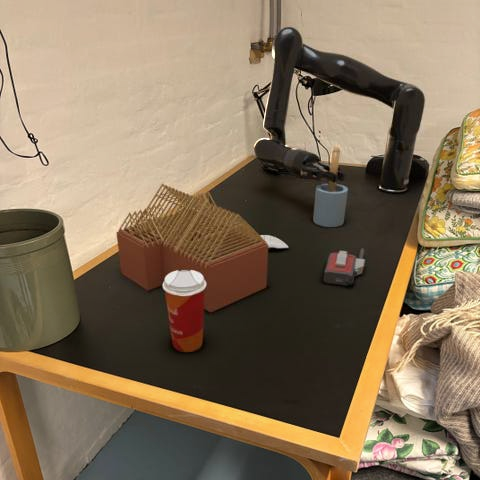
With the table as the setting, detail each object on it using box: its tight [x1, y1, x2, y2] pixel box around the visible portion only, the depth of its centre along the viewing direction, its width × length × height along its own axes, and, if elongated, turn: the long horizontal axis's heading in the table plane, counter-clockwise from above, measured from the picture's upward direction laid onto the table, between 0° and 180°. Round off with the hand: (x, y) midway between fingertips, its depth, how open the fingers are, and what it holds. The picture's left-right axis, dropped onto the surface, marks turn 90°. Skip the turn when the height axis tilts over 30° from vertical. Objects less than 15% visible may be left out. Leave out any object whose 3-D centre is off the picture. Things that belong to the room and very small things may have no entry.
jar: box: [312, 183, 349, 228], centre depth 146 cm, size 9×9×10 cm
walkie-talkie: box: [323, 247, 366, 287], centre depth 121 cm, size 9×4×20 cm
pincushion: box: [256, 226, 289, 249], centre depth 131 cm, size 12×6×6 cm, turn 81°
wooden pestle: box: [325, 146, 341, 192], centre depth 142 cm, size 5×5×18 cm
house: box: [115, 182, 269, 313], centre depth 112 cm, size 28×23×19 cm
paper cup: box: [162, 270, 206, 353], centre depth 91 cm, size 8×8×14 cm
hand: (340, 178), depth 140 cm, fingers closed on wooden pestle
